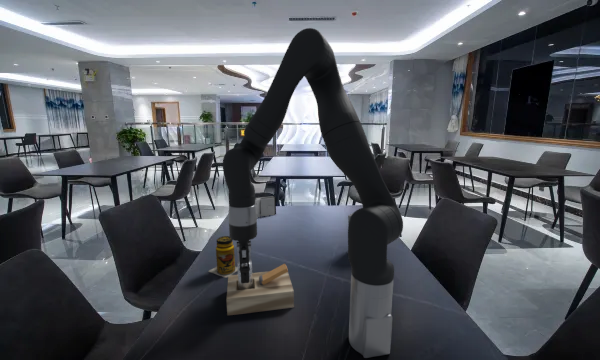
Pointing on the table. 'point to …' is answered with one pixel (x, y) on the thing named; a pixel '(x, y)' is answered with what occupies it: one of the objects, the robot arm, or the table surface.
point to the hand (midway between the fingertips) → (245, 274)
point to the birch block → (259, 295)
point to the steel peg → (249, 285)
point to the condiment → (225, 257)
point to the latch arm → (273, 274)
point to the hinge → (265, 206)
